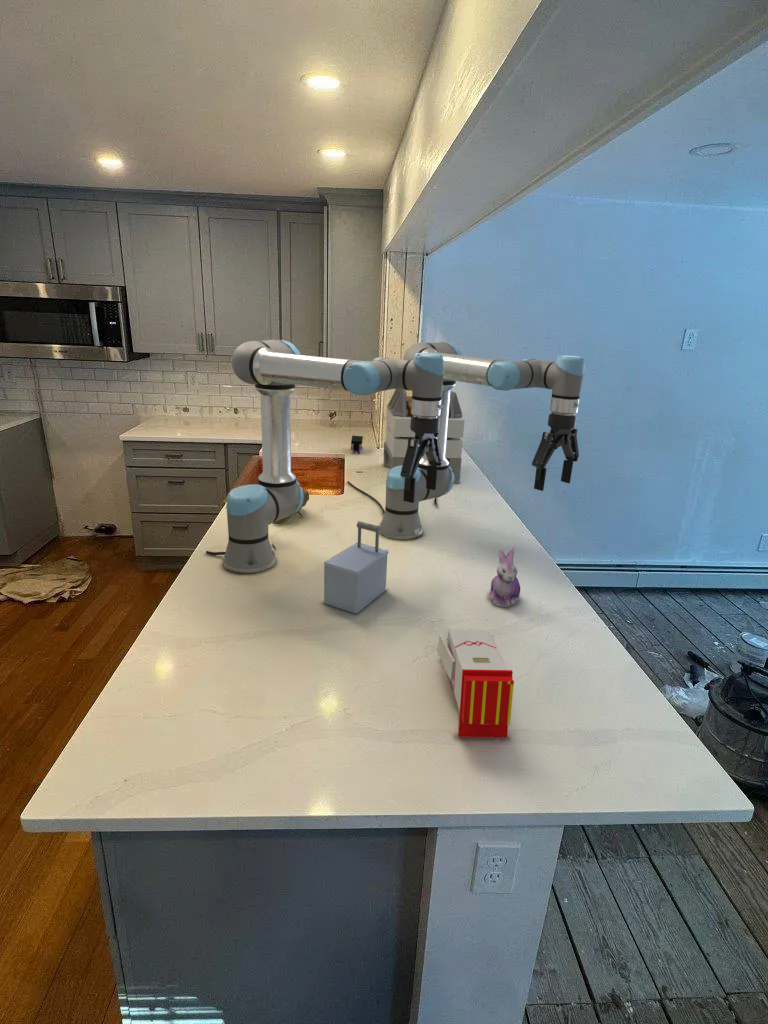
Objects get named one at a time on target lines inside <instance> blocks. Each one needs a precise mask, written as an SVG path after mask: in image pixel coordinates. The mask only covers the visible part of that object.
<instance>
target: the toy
mask: <svg viewBox="0 0 768 1024" xmlns="http://www.w3.org/2000/svg"><path fill="white" fill-rule="evenodd" d="M446 640H447V643H446V641H445V639H444V636H443V635H442V634H439V637H438V646H437V656H438V657H439V659H440V661H441V663H442V666H443V668H444V670H445V672H446V674H447V677H448V679H449V681H450V684H451V687H452V690H453V693H454V697H455V701H456V705H457V708H458V711H459V714H458V715H459V716H458V730H457V731H458V732H457V737H458V738H508V731H509V726H510V725H511V717H512V707H513V697H514V696H513V695H514V684H515V680H514V679H513V673H514V671H513V670H512V669H508V667H507V665H506V662H505V661H504V659H503V658H502V655H501V653H500V651H499V649H498V647H497V643H496V639H495V637H494V635H493V634H491V632H490V631H489V629H467V628H466V629H465V628H463V629H461V628H460V629H459V628H448V630H447V639H446Z"/></svg>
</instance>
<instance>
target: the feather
mask: <svg viewBox="0 0 768 1024" xmlns="http://www.w3.org/2000/svg"><path fill="white" fill-rule="evenodd" d="M437 500H438V499H437V498H434V501H433V503H434V505H435V506H436V507H438V501H437Z"/></svg>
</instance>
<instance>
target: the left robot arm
mask: <svg viewBox="0 0 768 1024" xmlns="http://www.w3.org/2000/svg"><path fill="white" fill-rule="evenodd" d="M231 364H232V365H231V366H232V370H233V372H234V374H235V375H236V377H237V379H239V380H240V381H241V382H244V383H245V384H248V385H254V388H255V389H256V391H257V392H258V393H259V394H260V417H261V422H260V423H261V450H262V452H261V453H262V472H261V473H260V474H259V475H258V477H257V484H255V483H251V484H249V483H248V484H246V485H245V484H244V485H239V486H236V487H234V488H233V489H231V490H230V491H229V492H228V494H227V495H226V504H225V509H226V519H227V533H228V541H227V544H226V548H225V551H210V550H206V551H205V554H206V555H210V556H223V559H222V561H223V567H224V568H225V569H226V570H227V571H229V572H232V573H236V574H243V575H245V574H248V575H249V574H258V573H262V572H266V571H268V570H270V569H271V568H272V567H274V565H275V564H276V554H275V553H274V550H275V551H277V549H276V546H275V545H274V543H271V542H270V538H269V525H271V524H274V522H276V521H278V520H280V519H283V518H285V517H289V516H291V515H292V514H293V513H295V512H296V511H298V510H299V509H300V507H301V505H302V503H303V498H304V495H303V489H304V488H303V487H302V486H300V485H301V484H300V482H299V481H298V480H297V475H295V474H294V473H293V472H292V435H291V432H292V430H291V428H292V427H291V393H294V391H295V390H296V386H303V387H313V388H321V389H329V390H337V391H346V392H349V393H351V394H352V395H354V396H369V395H371V394H375V393H379V392H385V391H389V390H396V389H400V390H406V391H410V392H411V396H412V405H411V414H412V415H413V416H412V417H411V423H410V429H411V431H413V432H415V437H414V439H413V438H409V439H408V447H407V451H406V455H405V458H404V462H403V466H402V470H401V473H400V476H401V477H405V483H404V500H403V501H406V502H410V503H414V496H415V480H416V478H414V476H415V473H416V470H417V468H418V465H419V462H420V460H421V457H422V456H424V454H425V453H426V456H427V459H428V462H429V464H430V465H428V466H427V480H426V488H427V489H432V490H436V481H437V469H438V467H437V466H441V464H442V463H441V461H442V457H441V450H440V443H439V427H440V418H439V417H438V416H439V415H440V412H441V408H442V405H441V400H442V387H443V376H444V358H443V356H442V355H440V354H435V353H417V354H415V356H414V360H403V359H399V358H398V359H397V358H390V357H386V356H385V357H375V358H373V359H372V360H358V359H347V358H346V359H345V358H338V357H337V358H335V357H325V356H316V355H304V354H301V353H300V351H299V349H298V348H297V347H296V345H294V344H293V343H292V342H291V341H288V340H283V339H268V340H266V339H265V340H249V341H246V342H243V343H241V344H239V346H238V347H236V349H235V350H234V351H233V354H232V357H231ZM299 511H300V510H299Z"/></svg>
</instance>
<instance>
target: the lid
mask: <svg viewBox="0 0 768 1024" xmlns="http://www.w3.org/2000/svg"><path fill="white" fill-rule="evenodd" d="M356 528H357V542H354V544H352V545H350V546H349V547H347V548H345V549H343V550H342V551H340V552H339V553H337V554H334V555H333V556H332V557H330V558H329V559H327V560H325V561H324V563H323V567H324V566H328V567H331V568H334V569H338V570H341V571H344V572H348V573H351V574H355V575H359V574H360V573H361V572H363V571H364V570H366V569H367V568H369V567H370V566H371V565H373V564H374V563H376V562H377V561H379V560H380V559H382V558H383V557H384V556H386V555H387V556H388V555H389V550H388V549H385V548H381V547H379V544H380V530H381V527H380V525H376V524H372V523H368V522H363V521H357V523H356ZM362 529H363V530H366V531H369V532H373V533H375V541H374V542H375V543H374V546H373V545H369V544H365V543H362Z"/></svg>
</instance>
